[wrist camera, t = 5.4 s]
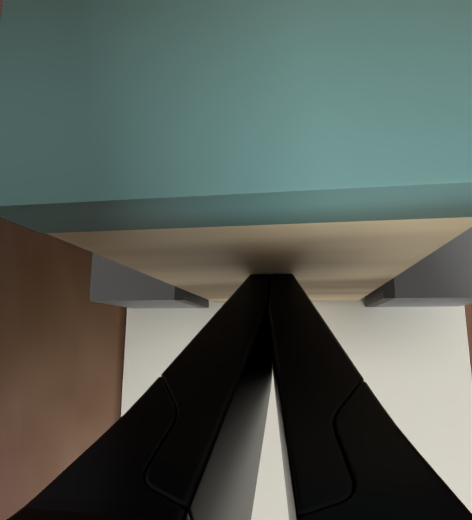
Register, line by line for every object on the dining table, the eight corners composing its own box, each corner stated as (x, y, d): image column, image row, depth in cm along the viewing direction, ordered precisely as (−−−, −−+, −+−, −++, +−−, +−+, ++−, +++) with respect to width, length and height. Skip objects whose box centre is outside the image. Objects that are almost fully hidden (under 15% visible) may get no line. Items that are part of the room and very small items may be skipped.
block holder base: (476, 571, 13) (561, 686, 9) (127, 540, 15) (57, 621, 11) (438, 179, 16) (490, 120, 11) (145, 195, 17) (94, 148, 13)
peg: (358, 301, 14) (552, 178, 3) (214, 302, 15) (-26, 207, 4) (350, 164, 15) (480, -294, 4) (216, 172, 16) (28, -193, 5)
